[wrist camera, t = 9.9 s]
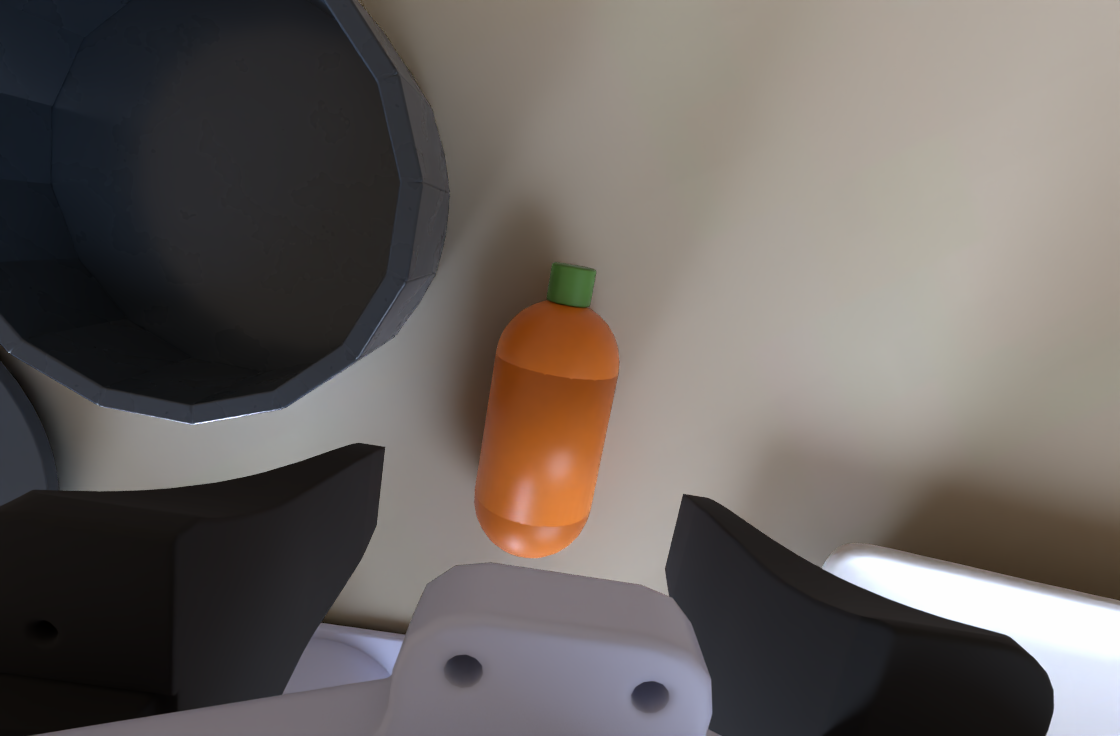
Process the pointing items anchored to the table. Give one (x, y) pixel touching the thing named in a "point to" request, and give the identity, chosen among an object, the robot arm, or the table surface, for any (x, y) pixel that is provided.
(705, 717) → the robot arm
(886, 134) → the table surface
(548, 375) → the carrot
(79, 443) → the table surface
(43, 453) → the lid
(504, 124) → the table surface
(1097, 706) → the tray
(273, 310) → the pan
